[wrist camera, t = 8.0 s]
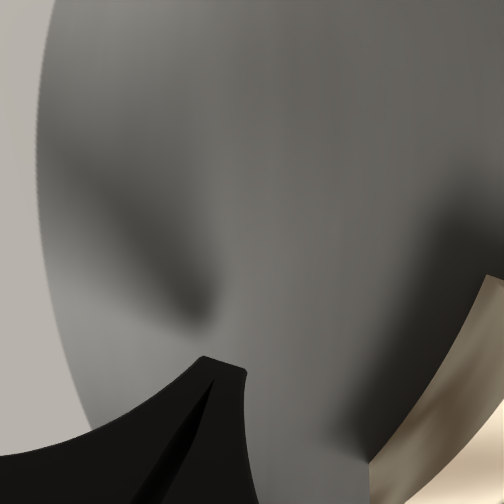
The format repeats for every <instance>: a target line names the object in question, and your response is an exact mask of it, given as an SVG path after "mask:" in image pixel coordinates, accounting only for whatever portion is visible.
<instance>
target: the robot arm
mask: <svg viewBox="0 0 504 504" xmlns="http://www.w3.org/2000/svg"><path fill="white" fill-rule="evenodd" d="M246 376H247V371H246V370H245V369H244V368H241V367H238V366H234V365H231V364H228V363H225V362H222V361H218V360H215V359H212V358H209V357H206V356H202V357H199V358H198V359H197V360H196V361H195V362H194V363H193V364H192V365H191V366H190V367H189V368H188V369H187V370H186V371H185V372H183V373H182V374H181V375H180V376H179V377H177V378H176V379H175V380H174V381H173V382H171V383H170V384H169V385H167V386H166V387H165V388H163V389H162V390H161V391H159V392H158V393H157V394H155V395H154V396H153V397H151V398H150V399H148V400H147V401H145V402H143V403H142V404H140V405H139V406H137V407H136V408H134V409H133V410H131V411H129V412H128V413H126V414H124V415H122V416H121V417H119V418H117V419H115V420H113V421H111V422H109V423H107V424H105V425H103V426H101V427H99V428H97V429H95V430H93V431H90V432H88V433H85V434H83V435H81V436H78V437H76V438H73V439H70V440H67V441H65V442H62V443H58V444H55V445H51V446H48V447H44V448H41V449H36V450H32V451H28V452H24V453H18V454H11V455H4V456H0V504H259V503H258V499H257V496H256V492H255V488H254V484H253V479H252V475H251V470H250V465H249V459H248V452H247V445H246V437H245V424H244V388H245V381H246Z"/></svg>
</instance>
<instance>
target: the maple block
mask: <svg viewBox="0 0 504 504" xmlns="http://www.w3.org/2000/svg"><path fill="white" fill-rule="evenodd" d="M369 479H370V504H504V280H501V279H498V278H496V277H493V276H490V275H487V274H486V277H485V279H484V281H483V284H482V286H481V288H480V291H479V293H478V295H477V297H476V299H475V302H474V304H473V306H472V308H471V310H470V312H469V314H468V316H467V318H466V320H465V322H464V324H463V326H462V328H461V330H460V332H459V334H458V336H457V338H456V339H455V341H454V343H453V345H452V347H451V349H450V350H449V352H448V354H447V356H446V357H445V359H444V361H443V362H442V364H441V366H440V367H439V369H438V371H437V372H436V374H435V376H434V377H433V379H432V380H431V382H430V383H429V385H428V387H427V388H426V390H425V391H424V393H423V394H422V396H421V397H420V399H419V400H418V401H417V403H416V404H415V406H414V407H413V409H412V410H411V411H410V413H409V414H408V416H407V417H406V418H405V420H404V421H403V422H402V424H401V425H400V426H399V428H398V429H397V430H396V432H395V433H394V434H393V435H392V437H391V438H390V439H389V441H388V442H387V443H386V444H385V445H384V447H383V448H382V449H381V450H380V452H379V453H378V454H377V455H376V456H375V457H374V459H373V460H372V461H371V462H370V463H369Z"/></svg>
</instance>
